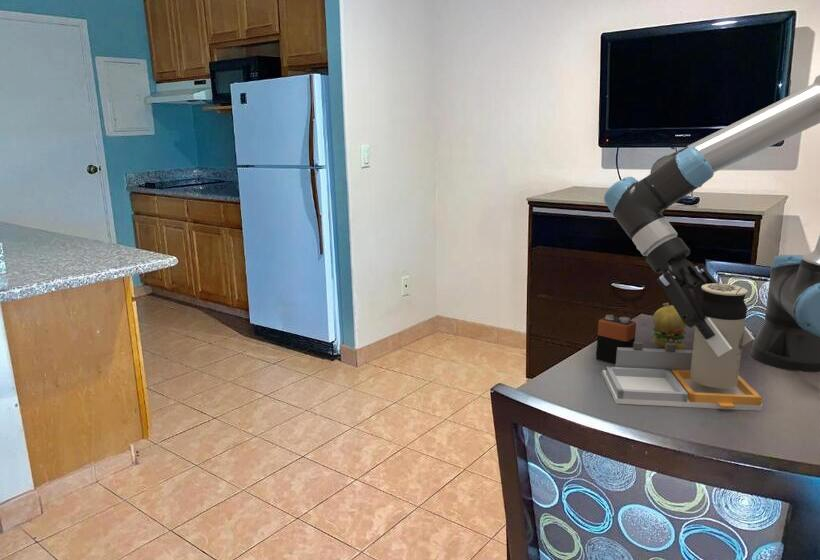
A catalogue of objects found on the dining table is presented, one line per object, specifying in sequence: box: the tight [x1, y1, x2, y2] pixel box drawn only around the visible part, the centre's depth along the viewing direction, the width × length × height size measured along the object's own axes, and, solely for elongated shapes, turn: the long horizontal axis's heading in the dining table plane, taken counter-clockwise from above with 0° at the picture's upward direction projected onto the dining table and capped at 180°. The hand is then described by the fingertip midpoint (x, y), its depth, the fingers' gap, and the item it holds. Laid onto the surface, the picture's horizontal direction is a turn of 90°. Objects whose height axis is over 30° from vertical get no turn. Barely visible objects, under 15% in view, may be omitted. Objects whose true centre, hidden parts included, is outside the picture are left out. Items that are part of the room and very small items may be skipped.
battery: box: [595, 314, 637, 365], centre depth 130 cm, size 4×7×10 cm, turn 46°
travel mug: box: [690, 283, 748, 389], centre depth 110 cm, size 8×8×18 cm
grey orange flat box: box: [601, 341, 764, 412], centre depth 113 cm, size 25×15×7 cm, turn 82°
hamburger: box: [652, 302, 688, 350], centre depth 134 cm, size 8×7×12 cm
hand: (736, 347), depth 108 cm, fingers closed on travel mug, 8 cm apart
